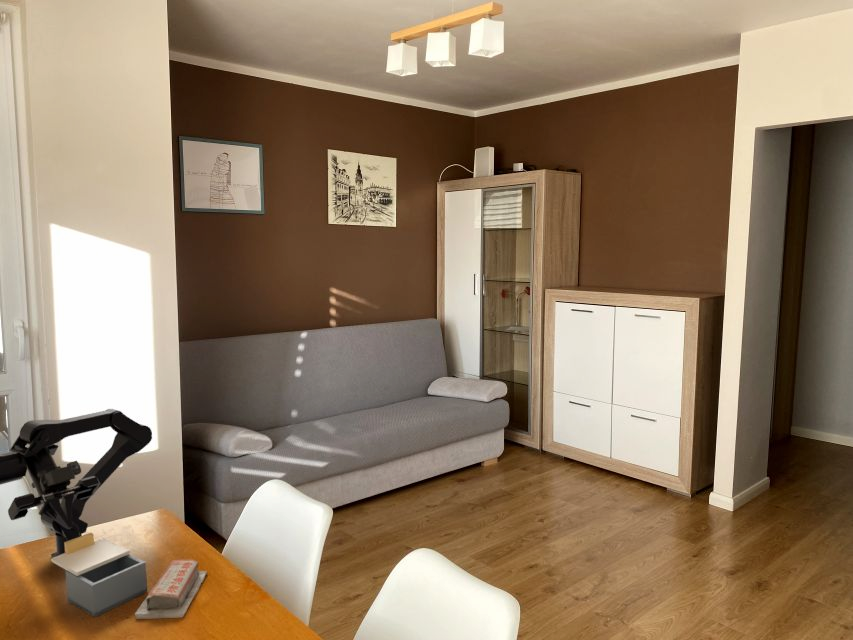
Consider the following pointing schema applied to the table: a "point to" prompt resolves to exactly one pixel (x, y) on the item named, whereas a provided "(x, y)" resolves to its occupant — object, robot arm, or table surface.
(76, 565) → the lid
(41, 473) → the robot arm
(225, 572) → the table surface
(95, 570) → the storage box
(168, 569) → the packaged product
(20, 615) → the table surface
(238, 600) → the table surface
